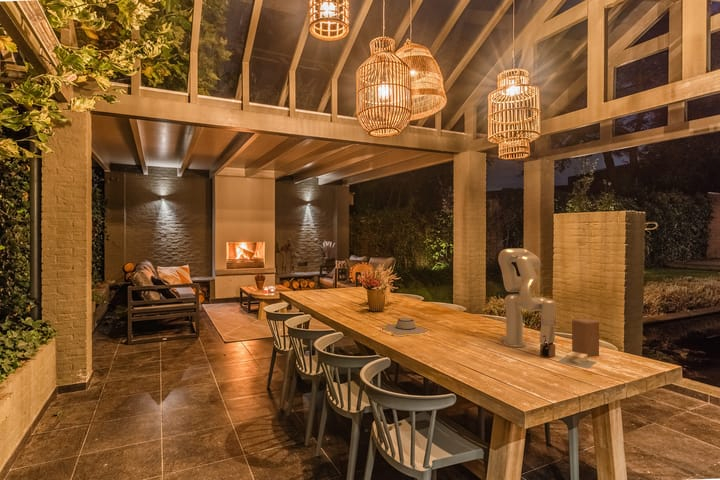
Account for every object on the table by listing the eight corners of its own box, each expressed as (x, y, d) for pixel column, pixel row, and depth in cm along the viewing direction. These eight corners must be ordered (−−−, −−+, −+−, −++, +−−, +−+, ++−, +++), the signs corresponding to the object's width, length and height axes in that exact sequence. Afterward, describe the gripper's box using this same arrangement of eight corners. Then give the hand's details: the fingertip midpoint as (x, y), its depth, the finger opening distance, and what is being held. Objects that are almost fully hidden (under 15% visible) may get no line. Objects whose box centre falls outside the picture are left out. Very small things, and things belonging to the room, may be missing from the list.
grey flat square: (556, 363, 210) (556, 362, 210) (566, 357, 221) (566, 356, 221) (588, 370, 200) (588, 368, 200) (597, 363, 210) (596, 361, 210)
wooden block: (585, 358, 219) (585, 322, 219) (571, 353, 228) (571, 318, 228) (600, 357, 221) (599, 321, 221) (585, 352, 231) (585, 317, 231)
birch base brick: (566, 362, 210) (566, 354, 210) (571, 358, 216) (571, 351, 216) (582, 365, 205) (582, 357, 205) (587, 361, 210) (587, 354, 210)
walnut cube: (539, 355, 222) (540, 344, 222) (544, 352, 226) (544, 342, 226) (551, 357, 218) (551, 346, 217) (555, 355, 222) (555, 344, 222)
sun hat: (370, 331, 290) (370, 318, 290) (404, 324, 313) (404, 312, 313) (406, 340, 262) (406, 326, 262) (441, 331, 285) (441, 319, 285)
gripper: (547, 318, 230) (546, 349, 230) (535, 323, 218) (534, 356, 218) (561, 320, 224) (560, 352, 225) (549, 326, 212) (548, 359, 213)
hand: (547, 353), depth 222 cm, fingers closed on walnut cube, 6 cm apart
